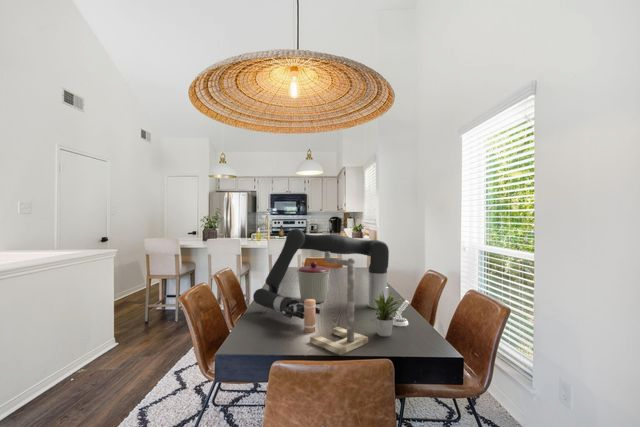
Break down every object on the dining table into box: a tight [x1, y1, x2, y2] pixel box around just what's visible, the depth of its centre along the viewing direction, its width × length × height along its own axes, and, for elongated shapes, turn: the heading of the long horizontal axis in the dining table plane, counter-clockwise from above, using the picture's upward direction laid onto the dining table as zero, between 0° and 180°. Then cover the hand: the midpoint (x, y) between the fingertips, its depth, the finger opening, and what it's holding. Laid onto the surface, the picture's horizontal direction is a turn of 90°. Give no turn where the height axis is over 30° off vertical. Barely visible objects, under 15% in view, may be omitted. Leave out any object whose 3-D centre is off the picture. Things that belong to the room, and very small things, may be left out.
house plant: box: [368, 291, 401, 337], centre depth 120 cm, size 14×14×16 cm
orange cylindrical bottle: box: [303, 299, 317, 334], centre depth 124 cm, size 5×5×12 cm
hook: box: [393, 299, 410, 327], centre depth 134 cm, size 8×12×7 cm
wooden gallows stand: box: [309, 252, 369, 356], centre depth 113 cm, size 14×15×32 cm
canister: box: [296, 261, 331, 304], centre depth 168 cm, size 18×18×21 cm
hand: (311, 313), depth 123 cm, fingers open, 8 cm apart
